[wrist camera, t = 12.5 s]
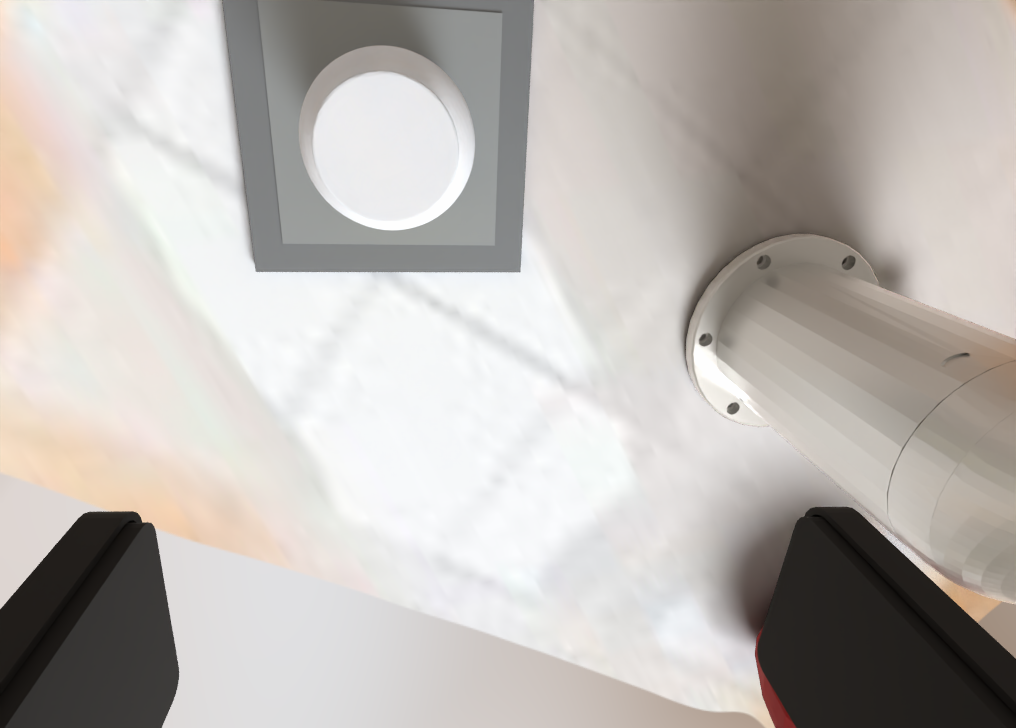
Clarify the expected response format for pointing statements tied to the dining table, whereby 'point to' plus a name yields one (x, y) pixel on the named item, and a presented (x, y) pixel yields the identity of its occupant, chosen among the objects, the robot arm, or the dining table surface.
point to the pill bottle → (386, 137)
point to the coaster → (276, 113)
